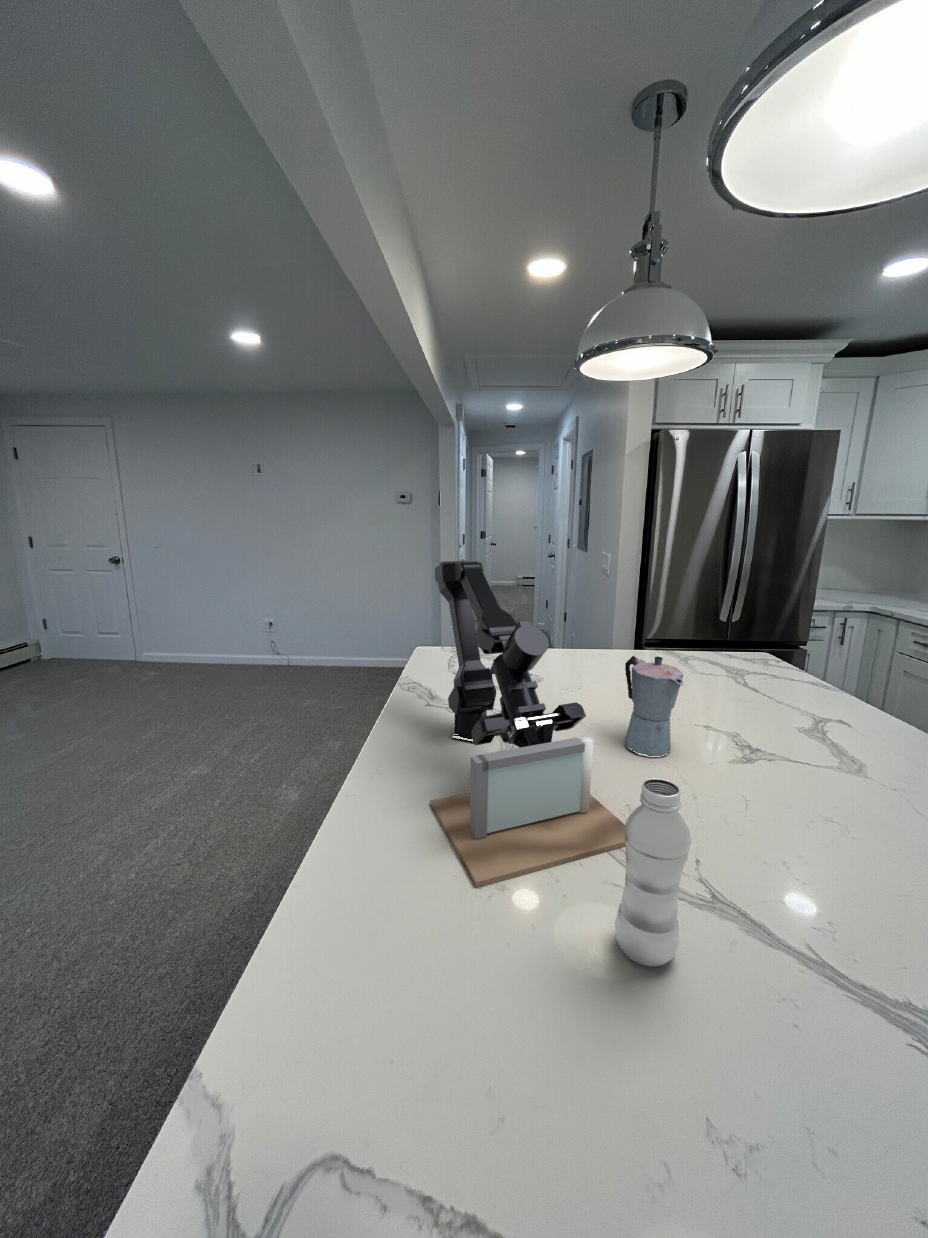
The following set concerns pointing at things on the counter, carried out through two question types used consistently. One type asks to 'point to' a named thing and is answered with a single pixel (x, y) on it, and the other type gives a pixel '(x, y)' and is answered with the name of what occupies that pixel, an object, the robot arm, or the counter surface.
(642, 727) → the moka pot
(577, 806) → the light blue panel
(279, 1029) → the counter surface
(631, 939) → the plastic bottle
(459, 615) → the robot arm
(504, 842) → the walnut board
